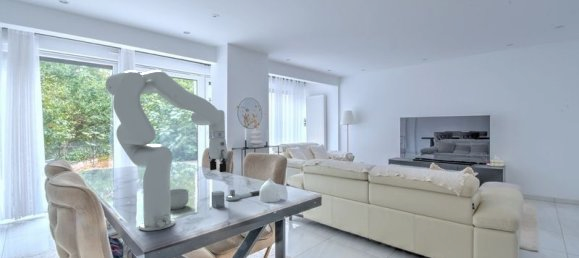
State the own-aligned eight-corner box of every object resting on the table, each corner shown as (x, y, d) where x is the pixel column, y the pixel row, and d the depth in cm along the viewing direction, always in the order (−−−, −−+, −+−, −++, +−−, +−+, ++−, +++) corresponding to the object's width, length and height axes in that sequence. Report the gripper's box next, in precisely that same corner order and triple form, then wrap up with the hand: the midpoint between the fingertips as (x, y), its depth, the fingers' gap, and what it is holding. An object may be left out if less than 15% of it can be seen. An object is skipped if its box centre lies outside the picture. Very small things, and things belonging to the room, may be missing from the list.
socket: (224, 206, 134) (224, 191, 134) (216, 208, 131) (215, 193, 131) (220, 204, 138) (219, 190, 138) (211, 206, 135) (211, 192, 135)
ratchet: (265, 194, 158) (265, 185, 158) (230, 202, 143) (229, 192, 143) (258, 192, 163) (258, 184, 163) (223, 199, 148) (223, 190, 148)
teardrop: (255, 201, 143) (255, 178, 143) (263, 196, 154) (263, 174, 154) (276, 202, 140) (275, 178, 140) (282, 197, 150) (282, 175, 150)
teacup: (192, 204, 139) (192, 188, 139) (182, 210, 128) (181, 193, 128) (166, 204, 140) (165, 188, 140) (153, 210, 129) (153, 193, 129)
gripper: (233, 135, 131) (234, 171, 131) (215, 135, 144) (216, 168, 144) (218, 136, 126) (219, 173, 126) (201, 135, 139) (202, 170, 139)
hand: (218, 170), depth 135 cm, fingers open, 9 cm apart
